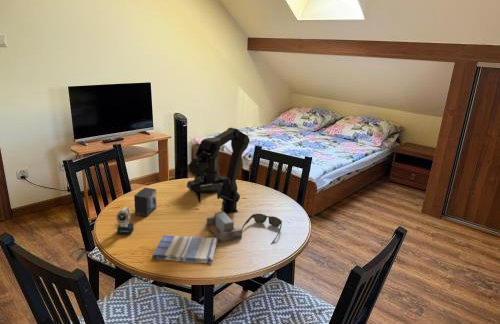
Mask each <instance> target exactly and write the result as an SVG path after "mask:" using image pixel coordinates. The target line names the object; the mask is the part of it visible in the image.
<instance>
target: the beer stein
mask: <svg viewBox="0 0 500 324" xmlns="http://www.w3.org/2000/svg"><path fill="white" fill-rule="evenodd" d="M202 153H205V152H202ZM205 154H209V153H205ZM197 157H198V156H196V155H195V158H197ZM218 158H219V156H218V157H216V171H217V174H216V179H217V177H218V176H221V175H220V170H219V163H218V162H219V161H218ZM193 180H196V181H197V182H203V181H202V180H200V178H199V179H198V177H194V179H193ZM217 189H218V186H217V184H212V185H207V186H201V187H200V189H199V190H201V195H203V194H204V195H210V194H217Z"/></svg>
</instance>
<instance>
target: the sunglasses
mask: <svg viewBox="0 0 500 324" xmlns="http://www.w3.org/2000/svg"><path fill="white" fill-rule="evenodd" d="M252 219H254V222H255V223H257V224H264V223H266V221H267V219H268V224H269V225H270V226H272V227H275V228H279V230H278V232H277V235H276V237H274V239H273V241H271V243H270V245H273V244H274V243H275V241H276V240H277V238H278V236H279V234H280V232H281V230H282V225H283V224H282V223H283V221H282V220H281V218H278V217H277V216H272V215H270V216H269V215H266V214H263V213H253V214H251V216H250V217H248V218H247V219H246V221H245V222H244V224H243V225H242V228H241V229H242V232H243V230H244V227H245V226H246V225H247V224H248V223H249V222H250V220H252Z"/></svg>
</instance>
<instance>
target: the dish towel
mask: <svg viewBox="0 0 500 324" xmlns="http://www.w3.org/2000/svg"><path fill="white" fill-rule="evenodd" d="M217 243H218V239H217V238H216V237H201V236H200V237H197V236H186V235H185V236H184V235H183V236H182V235H178V236H176V235H166V234H163V236H162V238H161V239H160V242H159V243H158V245H157V247H156V249H155V251H154V253H153V255H152V258H151V259H154V260H155V259H156V260H163V261H164V260H165V261H171V262H173V261H174V262H176V261H177V262H185V263H194V264H196V263H197V264H198V263H200V264H212V262H213V261H214V257H215V250H216V246H217Z"/></svg>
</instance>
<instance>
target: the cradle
mask: <svg viewBox="0 0 500 324" xmlns="http://www.w3.org/2000/svg"><path fill="white" fill-rule="evenodd" d="M225 214H226V213H225ZM226 215H227V216H228V217H229V214H226ZM206 227H207V228H208V229H209V230H210V232H211V233H212V234H213V235H214V238H217V242H218V241H219V243H220V244H221V243H225V242H230V241H234V240H239V239H242V237H243V231H242V228H238V229H237V228H235V227H234V229H233V230H231V231H227V232H222V233H221V232H220V230H219V229H218V228H217V227H216V226H215V215H214V216H209V217H206Z"/></svg>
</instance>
